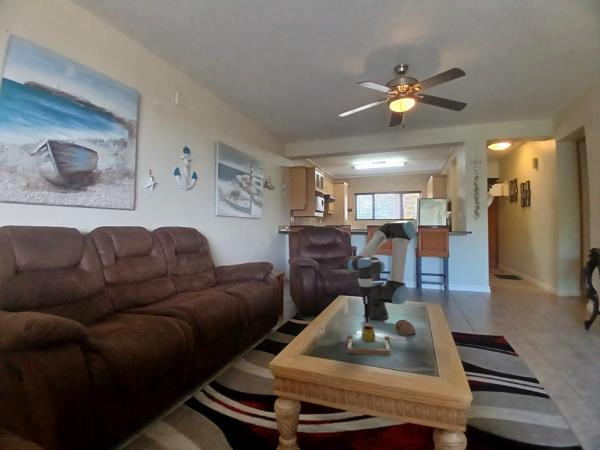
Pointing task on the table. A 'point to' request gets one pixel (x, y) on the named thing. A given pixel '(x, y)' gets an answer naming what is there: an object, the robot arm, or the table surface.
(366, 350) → the pocket
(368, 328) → the mug
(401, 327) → the seashell
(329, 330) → the table surface
